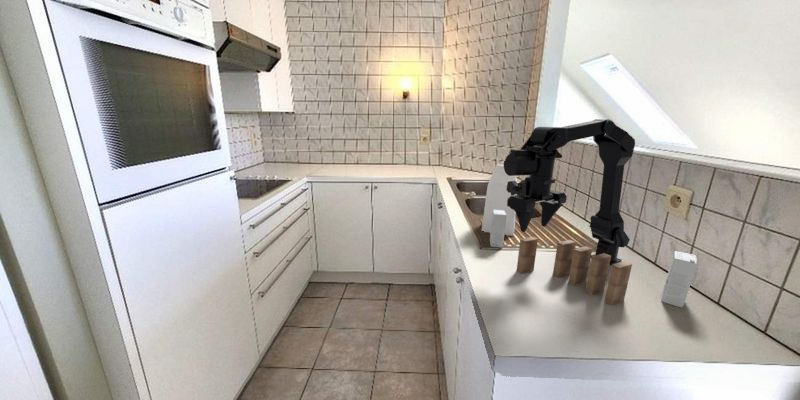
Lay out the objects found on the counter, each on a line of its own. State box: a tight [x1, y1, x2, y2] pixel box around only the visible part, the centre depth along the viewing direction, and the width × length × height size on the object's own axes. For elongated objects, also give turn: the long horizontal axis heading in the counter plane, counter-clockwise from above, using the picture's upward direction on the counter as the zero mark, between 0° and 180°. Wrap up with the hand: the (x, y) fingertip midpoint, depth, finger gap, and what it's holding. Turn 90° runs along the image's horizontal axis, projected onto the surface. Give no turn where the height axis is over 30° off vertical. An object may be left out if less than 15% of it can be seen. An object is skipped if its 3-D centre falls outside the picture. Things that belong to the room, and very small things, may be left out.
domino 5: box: [603, 260, 633, 306], centre depth 77 cm, size 5×2×10 cm, turn 115°
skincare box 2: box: [660, 250, 698, 308], centre depth 78 cm, size 6×4×12 cm
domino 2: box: [552, 239, 576, 278], centre depth 90 cm, size 5×2×10 cm, turn 116°
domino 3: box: [567, 245, 593, 286], centre depth 86 cm, size 5×2×10 cm, turn 116°
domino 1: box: [516, 236, 539, 274], centre depth 92 cm, size 5×2×10 cm, turn 116°
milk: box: [481, 164, 518, 237], centre depth 125 cm, size 12×12×26 cm
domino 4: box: [584, 253, 611, 296], centre depth 82 cm, size 5×2×10 cm, turn 116°
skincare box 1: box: [489, 210, 507, 248], centre depth 111 cm, size 6×4×12 cm
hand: (533, 228), depth 89 cm, fingers open, 9 cm apart
